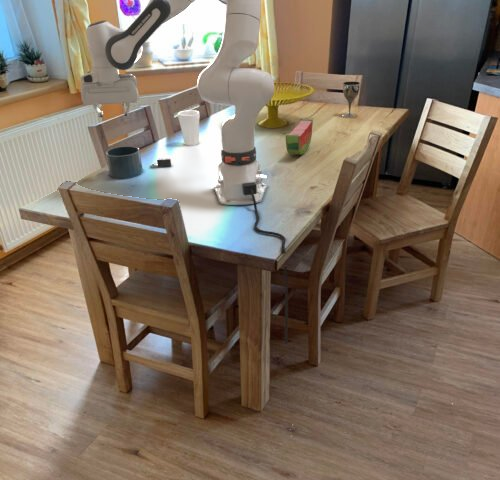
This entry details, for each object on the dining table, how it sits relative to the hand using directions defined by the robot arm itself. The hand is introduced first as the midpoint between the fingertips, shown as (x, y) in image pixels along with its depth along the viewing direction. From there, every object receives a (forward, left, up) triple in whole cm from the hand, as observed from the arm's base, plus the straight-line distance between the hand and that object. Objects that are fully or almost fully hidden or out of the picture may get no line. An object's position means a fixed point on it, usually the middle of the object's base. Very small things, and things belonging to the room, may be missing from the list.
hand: (114, 116), depth 189 cm
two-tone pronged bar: (+8, -13, -22) cm, 26 cm away
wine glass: (+74, -100, -22) cm, 126 cm away
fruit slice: (+20, -70, -22) cm, 76 cm away
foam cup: (+38, -23, -22) cm, 49 cm away
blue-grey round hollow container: (+2, 0, -22) cm, 22 cm away
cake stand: (+65, -61, -22) cm, 92 cm away
